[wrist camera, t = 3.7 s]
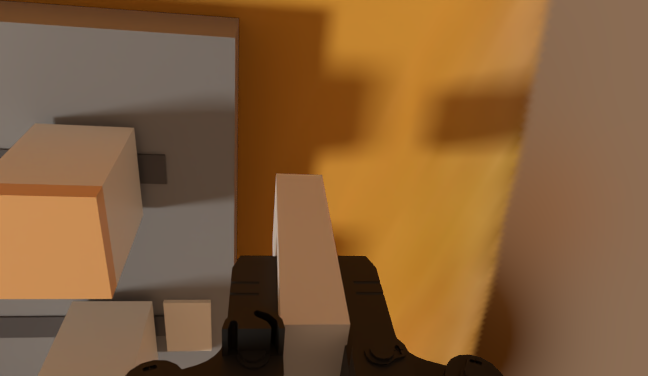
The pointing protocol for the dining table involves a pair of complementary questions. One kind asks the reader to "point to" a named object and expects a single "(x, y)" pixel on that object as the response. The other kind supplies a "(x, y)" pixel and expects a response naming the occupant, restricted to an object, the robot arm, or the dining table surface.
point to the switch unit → (152, 154)
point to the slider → (68, 211)
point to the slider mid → (102, 339)
